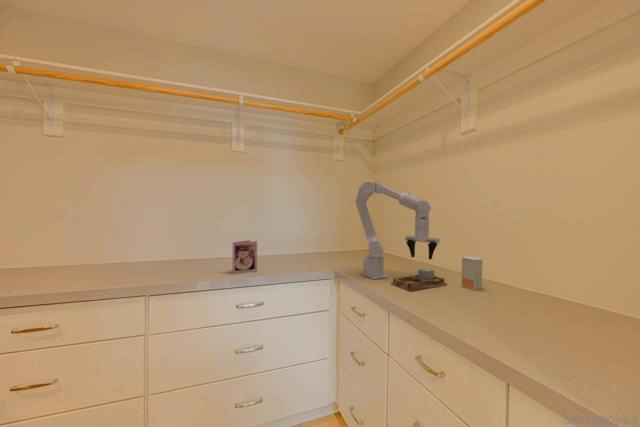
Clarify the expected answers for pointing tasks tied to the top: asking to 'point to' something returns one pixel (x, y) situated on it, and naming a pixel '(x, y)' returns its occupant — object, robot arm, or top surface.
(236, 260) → the greeting card
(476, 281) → the skincare box
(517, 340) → the top surface
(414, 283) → the slot rack
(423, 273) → the slate block
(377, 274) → the robot arm
